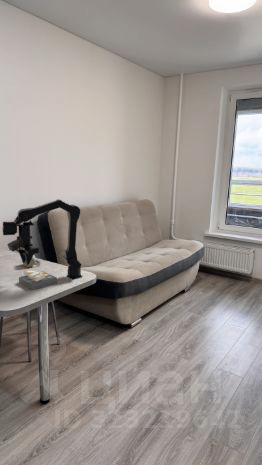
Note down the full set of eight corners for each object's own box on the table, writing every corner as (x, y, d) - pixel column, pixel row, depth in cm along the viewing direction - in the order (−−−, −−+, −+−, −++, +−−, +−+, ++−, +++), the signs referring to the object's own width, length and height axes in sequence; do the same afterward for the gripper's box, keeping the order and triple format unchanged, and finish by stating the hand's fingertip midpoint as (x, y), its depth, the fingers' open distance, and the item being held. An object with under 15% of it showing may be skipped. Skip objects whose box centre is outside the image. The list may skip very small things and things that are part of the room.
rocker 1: (32, 273, 171) (33, 270, 171) (35, 275, 169) (36, 271, 169) (23, 274, 167) (24, 270, 167) (26, 275, 165) (26, 272, 165)
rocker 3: (42, 276, 165) (41, 273, 164) (45, 277, 163) (44, 274, 162) (32, 280, 161) (32, 277, 161) (36, 281, 159) (35, 278, 159)
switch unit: (43, 276, 177) (42, 270, 176) (56, 283, 167) (56, 277, 167) (19, 282, 167) (18, 276, 166) (32, 289, 157) (32, 283, 157)
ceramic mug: (22, 268, 189) (22, 255, 188) (22, 264, 197) (22, 252, 195) (41, 267, 193) (41, 254, 191) (40, 263, 200) (40, 251, 199)
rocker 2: (37, 274, 168) (36, 271, 167) (40, 275, 166) (39, 272, 165) (28, 277, 164) (27, 274, 164) (31, 279, 162) (30, 276, 162)
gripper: (0, 233, 163) (2, 262, 166) (18, 239, 150) (19, 271, 153) (21, 230, 171) (22, 258, 174) (39, 236, 158) (40, 266, 161)
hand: (25, 263), depth 165 cm, fingers open, 4 cm apart
